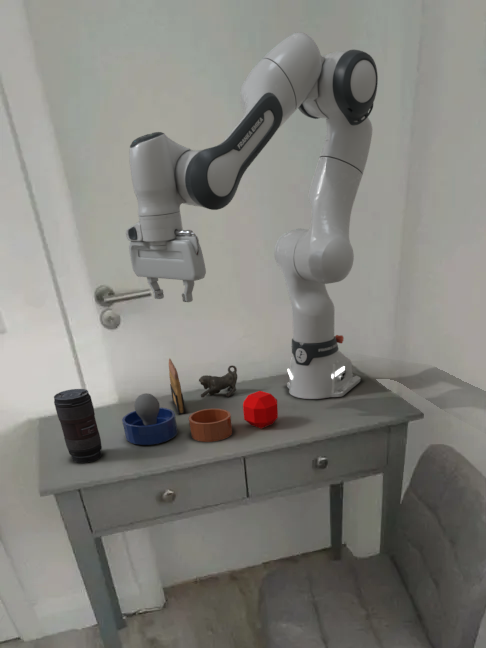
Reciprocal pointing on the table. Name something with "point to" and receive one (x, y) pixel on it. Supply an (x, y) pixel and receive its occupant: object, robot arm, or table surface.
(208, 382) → the dog figurine
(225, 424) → the terracotta dish
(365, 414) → the table surface
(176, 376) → the ammunition clip
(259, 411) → the ball
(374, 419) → the table surface
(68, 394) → the camera lens
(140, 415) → the light bulb
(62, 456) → the table surface
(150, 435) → the blue bowl
